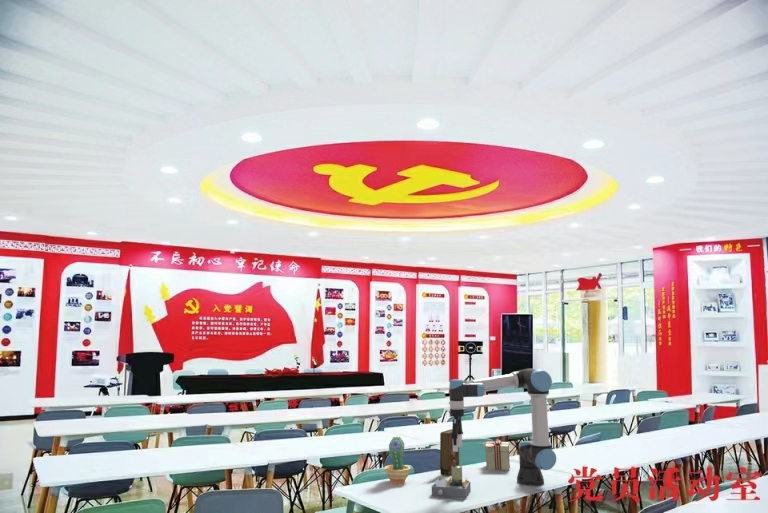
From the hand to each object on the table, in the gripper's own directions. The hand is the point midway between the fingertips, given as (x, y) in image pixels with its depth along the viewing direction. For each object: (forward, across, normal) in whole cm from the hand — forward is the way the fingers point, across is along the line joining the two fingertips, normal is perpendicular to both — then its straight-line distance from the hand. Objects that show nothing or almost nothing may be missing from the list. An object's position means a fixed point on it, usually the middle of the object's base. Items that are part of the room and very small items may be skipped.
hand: (457, 449), depth 305 cm
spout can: (+20, +1, 0) cm, 20 cm away
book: (+23, -45, -12) cm, 52 cm away
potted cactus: (+23, -14, -38) cm, 46 cm away
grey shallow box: (+23, +2, -4) cm, 23 cm away
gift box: (+24, -69, +13) cm, 74 cm away
